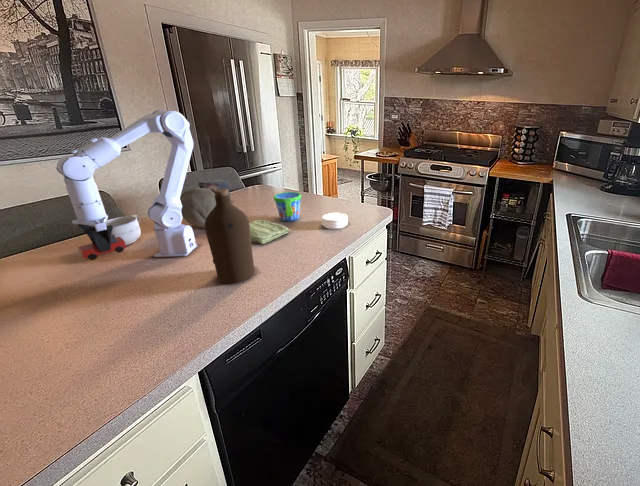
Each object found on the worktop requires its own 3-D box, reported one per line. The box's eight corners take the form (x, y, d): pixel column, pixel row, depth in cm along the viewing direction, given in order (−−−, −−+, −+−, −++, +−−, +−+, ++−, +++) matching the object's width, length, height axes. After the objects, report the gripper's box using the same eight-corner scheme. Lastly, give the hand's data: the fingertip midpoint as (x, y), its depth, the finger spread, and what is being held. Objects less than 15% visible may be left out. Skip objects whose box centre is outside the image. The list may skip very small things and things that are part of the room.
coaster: (336, 231, 123) (335, 222, 122) (317, 225, 128) (316, 217, 126) (353, 223, 131) (352, 215, 130) (334, 218, 136) (334, 210, 134)
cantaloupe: (232, 221, 131) (226, 185, 126) (207, 234, 118) (199, 195, 113) (201, 218, 133) (194, 183, 128) (173, 231, 120) (163, 192, 115)
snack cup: (279, 213, 141) (276, 190, 137) (304, 211, 143) (302, 189, 139) (274, 226, 126) (270, 201, 123) (302, 224, 129) (299, 200, 125)
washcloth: (262, 246, 110) (261, 237, 108) (230, 235, 118) (228, 227, 117) (292, 233, 120) (291, 225, 119) (261, 224, 128) (260, 216, 127)
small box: (202, 204, 150) (197, 182, 147) (211, 200, 156) (207, 178, 153) (222, 205, 149) (218, 183, 145) (231, 201, 155) (228, 180, 151)
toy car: (122, 245, 95) (117, 229, 94) (127, 250, 93) (122, 234, 91) (80, 257, 89) (74, 240, 87) (85, 262, 86) (78, 244, 84)
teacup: (120, 251, 105) (113, 228, 102) (93, 247, 107) (85, 225, 104) (158, 234, 118) (153, 213, 115) (134, 231, 120) (128, 211, 117)
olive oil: (265, 270, 95) (252, 187, 86) (235, 288, 86) (218, 197, 77) (237, 263, 99) (222, 183, 90) (206, 280, 89) (186, 192, 80)
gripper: (60, 200, 86) (77, 246, 91) (72, 211, 78) (91, 261, 83) (94, 194, 92) (109, 238, 96) (109, 204, 84) (125, 251, 88)
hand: (103, 248), depth 90 cm, fingers closed on toy car, 4 cm apart
